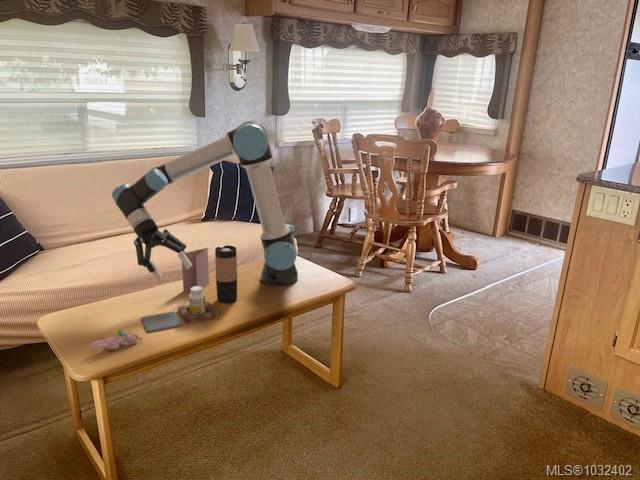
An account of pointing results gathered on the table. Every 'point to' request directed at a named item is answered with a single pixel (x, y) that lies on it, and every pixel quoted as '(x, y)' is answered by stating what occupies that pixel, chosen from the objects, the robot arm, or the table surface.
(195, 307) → the supplement bottle
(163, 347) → the table surface
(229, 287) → the travel mug
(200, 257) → the greeting card
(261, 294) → the table surface
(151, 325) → the slate pad
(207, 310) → the brown flat square frame
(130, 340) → the pink patterned figure
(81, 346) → the table surface
